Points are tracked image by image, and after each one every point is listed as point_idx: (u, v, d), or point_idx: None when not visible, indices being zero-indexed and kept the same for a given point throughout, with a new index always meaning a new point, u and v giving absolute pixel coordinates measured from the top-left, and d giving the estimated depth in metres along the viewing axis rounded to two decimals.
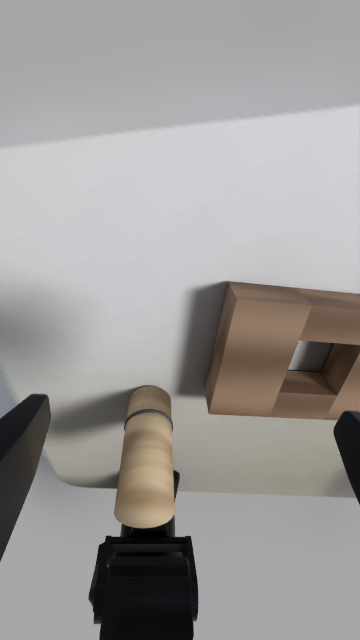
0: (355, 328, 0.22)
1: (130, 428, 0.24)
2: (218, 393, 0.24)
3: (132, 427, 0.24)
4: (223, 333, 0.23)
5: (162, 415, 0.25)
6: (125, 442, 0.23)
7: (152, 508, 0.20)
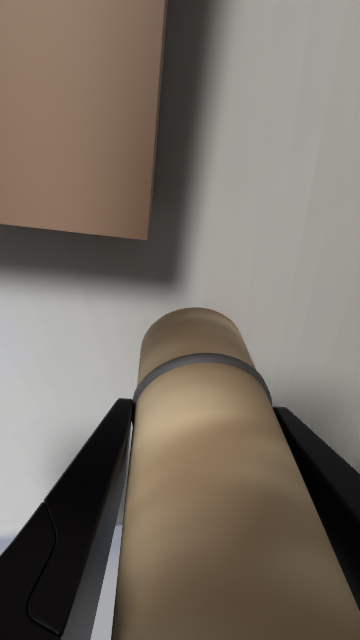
0: None
1: None
2: (28, 209, 0.06)
3: None
4: None
5: (144, 387, 0.08)
6: None
7: None
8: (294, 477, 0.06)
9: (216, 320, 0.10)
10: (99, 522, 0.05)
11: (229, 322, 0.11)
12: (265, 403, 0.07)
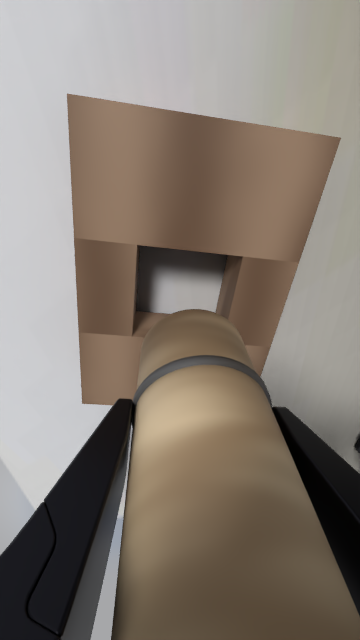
0: (107, 267, 0.14)
1: None
2: None
3: None
4: None
5: (144, 389, 0.08)
6: None
7: None
8: (294, 480, 0.06)
9: (216, 322, 0.10)
10: (99, 522, 0.05)
11: (229, 324, 0.11)
12: (265, 405, 0.07)
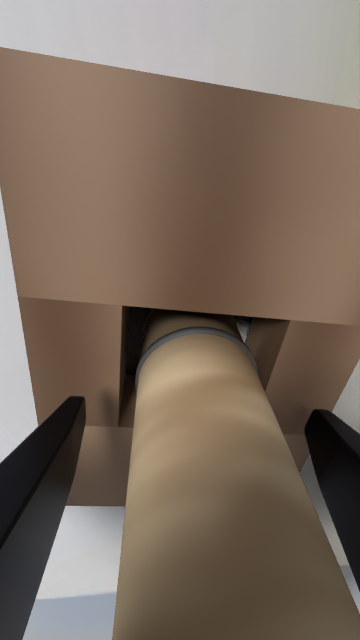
0: (75, 338, 0.09)
1: None
2: None
3: None
4: None
5: (147, 356, 0.09)
6: None
7: None
8: (270, 418, 0.07)
9: None
10: (17, 521, 0.05)
11: None
12: (250, 367, 0.09)
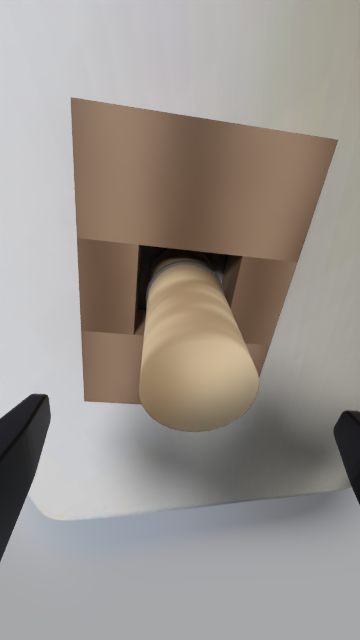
0: (109, 266, 0.15)
1: None
2: None
3: None
4: None
5: (153, 279, 0.15)
6: None
7: (186, 379, 0.10)
8: (222, 299, 0.13)
9: (195, 252, 0.17)
10: None
11: (203, 255, 0.17)
12: (216, 282, 0.14)
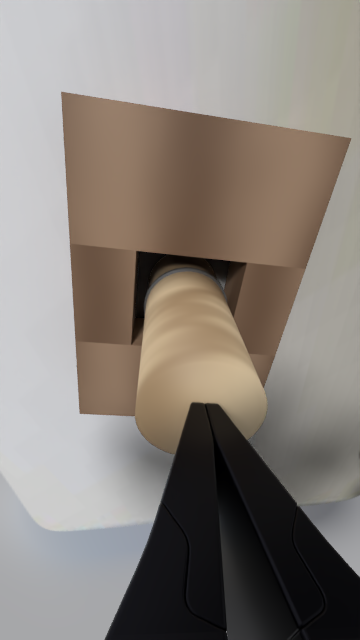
0: (105, 274, 0.14)
1: None
2: None
3: None
4: None
5: (152, 287, 0.14)
6: None
7: (187, 402, 0.09)
8: (226, 310, 0.12)
9: (196, 257, 0.16)
10: (218, 523, 0.05)
11: (205, 261, 0.17)
12: (219, 291, 0.13)
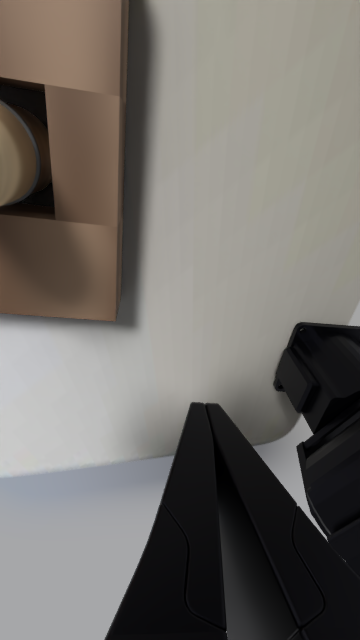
0: None
1: None
2: (72, 312, 0.17)
3: None
4: None
5: None
6: None
7: None
8: None
9: (15, 105, 0.14)
10: (218, 523, 0.05)
11: (31, 114, 0.14)
12: (1, 110, 0.11)
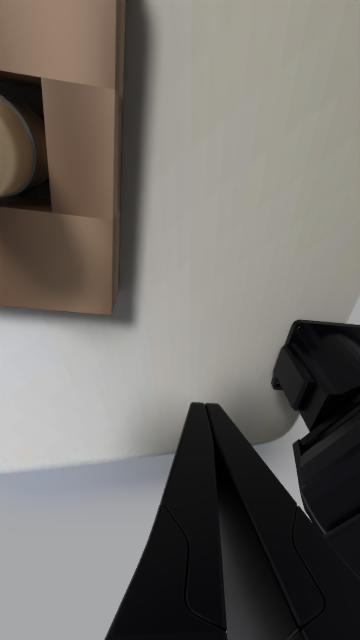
0: None
1: None
2: (69, 306, 0.17)
3: None
4: None
5: None
6: None
7: None
8: None
9: (13, 100, 0.14)
10: (218, 523, 0.05)
11: (29, 108, 0.14)
12: None
